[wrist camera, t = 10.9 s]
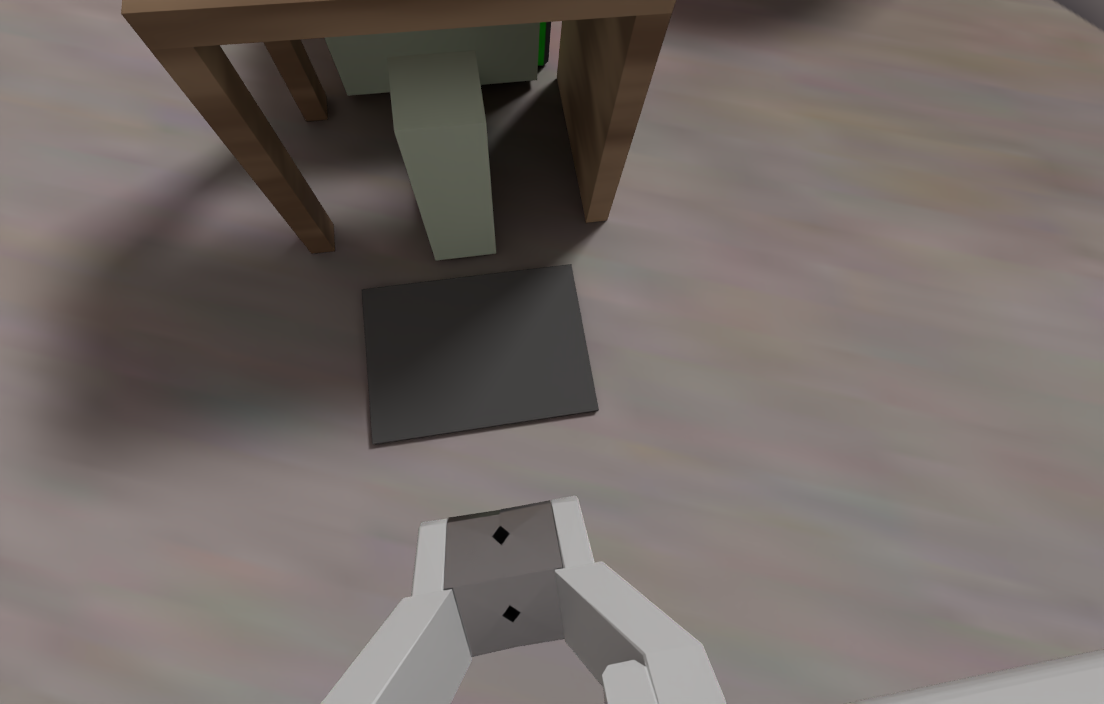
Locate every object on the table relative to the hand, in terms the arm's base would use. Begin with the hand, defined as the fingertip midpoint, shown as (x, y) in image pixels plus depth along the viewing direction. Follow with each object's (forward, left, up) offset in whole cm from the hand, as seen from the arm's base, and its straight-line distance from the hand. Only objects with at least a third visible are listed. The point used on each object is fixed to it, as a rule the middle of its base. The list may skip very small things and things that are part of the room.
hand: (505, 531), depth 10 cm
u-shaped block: (+20, +1, -15) cm, 25 cm away
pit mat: (+8, +1, -15) cm, 18 cm away
